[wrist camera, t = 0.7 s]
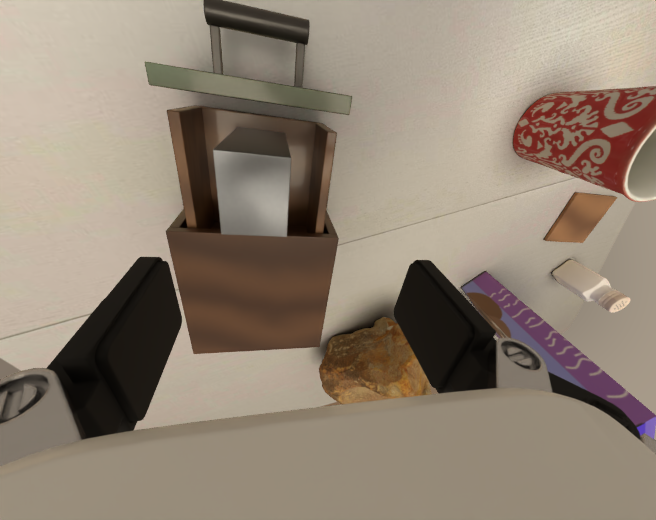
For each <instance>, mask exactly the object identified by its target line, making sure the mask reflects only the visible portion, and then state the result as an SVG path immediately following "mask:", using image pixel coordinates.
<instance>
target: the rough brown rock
mask: <svg viewBox="0 0 656 520" xmlns="http://www.w3.org/2000/svg"><path fill="white" fill-rule="evenodd" d="M319 373H320V378H321V381H322V387H323V389H324V390H325V392H326V393H327V394H328V395H329V396H330V397H332V398H333V399H334V400H336V401H337V402H339V403H340V404H351V403H360V402H368V401H377V400H386V399H395V398H404V397H413V396H422V395H431V389H430V385H429V380H428V379H427V377H426V375H425V373H424V371H423V369H422V367H421V366H420V364H419V362H418V360H417V358H416V356H415V354H414V353H413V351H412V349H411V347H410V345H409V343H408V341H407V340H406V338H405V336H404V334H403V332H402V330H401V328H400V326H399V325H398V324H396V323H395V322H394V321H393V320H391V319H390V318H386V317H383V318H381V319H378V320H377V321H375V324H374V327H372V328H364V329H361V330H358V331H355V332H354V333H352V334H345V335H338V336H334V337H332V339H331V340H330V341H329V343H328V346H327V350H326V354H325V356H324V359H323V361H322V364H321V365H320V368H319Z"/></svg>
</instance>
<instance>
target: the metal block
mask: <svg viewBox="0 0 656 520" xmlns="http://www.w3.org/2000/svg"><path fill="white" fill-rule="evenodd" d="M213 156H214V167H215V177H216V187H217V197H218V207H219V217H220V227H221V234H224V235H250V236H276V237H287V228H288V210H289V192H290V173H291V155H290V151H289V147H288V143H287V139H286V135H285V133H281V132H273V131H265V130H257V129H249V128H242V127H237V128H236V129H235V130H234V131H233V132H232V133H230V134H229V135H228V136H227V137H226V138H225V139H224V140H223V141H222V142H221V143H220V144H219V145H218V146H216V147H215V148H214V149H213Z"/></svg>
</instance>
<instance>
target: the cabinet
mask: <svg viewBox="0 0 656 520" xmlns="http://www.w3.org/2000/svg"><path fill="white" fill-rule="evenodd" d="M166 235H167V239H168V243H169V248H170V252H171V257H172V261H173V265H174V270H175V274H176V279H177V283H178V287H179V292H180V296H181V300H182V305H183V309H184V314H185V318H186V322H187V327H188V331H189V336H190V340H191V344H192V349H193V353H194V354H201V353H219V352H237V351H255V350H273V349H291V348H308V347H319V346H320V340H321V335H322V329H323V323H324V318H325V312H326V306H327V301H328V295H329V289H330V284H331V278H332V273H333V267H334V261H335V256H336V250H337V244H338V239H339V238H338V236H337V234H336V231H335V229H334V227H333V224H332V222H331V220H330V218H329V215H328V213H327V211H326V215H325V222H324V230H323V234H315V233H292V232H287V237H276V236H250V235H224V234H221V229H198V228H187V222H186V216H185V211H184V209H183V210H182V212H181V213H180V214H179V215H178V217H177V218H176V219H175V221H174V222H173V223H172V224H171V226H170V227H169V228H168V229H167V230H166Z"/></svg>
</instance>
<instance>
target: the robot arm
mask: <svg viewBox="0 0 656 520" xmlns="http://www.w3.org/2000/svg"><path fill="white" fill-rule="evenodd" d="M394 317H395V319H396V321H397V323H398V325H399V326H400V328H401V330H402V332H403V334H404V336H405V338H406V340H407V341H408V343H409V345H410V347H411V349H412V351H413V353H414V354H415V356H416V358H417V360H418V362H419V364H420V366H421V367H422V369H423V371H424V373H425V375H426V377H427V379H428V380H429V382H430V384H431V385H432V387H434V388H436V390H437V392H438V393H439V394H431V395H422V396H413V397H404V398H395V399H386V400H377V401H368V402H360V403H351V404H342V405H334V406H325V407H317V408H308V409H300V410H291V411H283V412H274V413H266V414H258V415H250V416H242V417H233V418H225V419H217V420H209V421H200V422H192V423H185V424H178V425H171V426H163V427H156V428H149V429H142V430H134V428H135V425H136V423H137V421H141V420H142V419H143V418H144V417H145V415H146V412H147V410H148V407H149V405H150V402H151V400H152V397H153V395H154V392H155V390H156V387H157V385H158V382H159V380H160V377H161V375H162V372H163V370H164V367H165V365H166V362H167V360H168V357H169V355H170V352H171V350H172V347H173V345H174V342H175V340H176V337H177V335H178V332H179V330H180V327H181V324H182V316H181V312H180V308H179V304H178V300H177V296H176V292H175V288H174V284H173V280H172V276H171V272H170V268H169V265H168V263H167V262H166V261H163V260H162V259H161V258H160V257H140V258H138V259H137V261H136V262H135V263H134V264H133V266H132V267H131V268H130V269H129V270H128V272H127V273H126V274H125V275H124V277H123V278H122V279H121V280H120V281H119V283H118V284H117V285H116V286H115V287H114V289H113V290H112V291H111V292H110V294H109V295H108V296H107V297H106V298H105V299H104V300H103V301H102V302H101V303H100V304H99V306H98V307H97V308H96V309H95V310H94V312H93V313H92V314H91V315H90V316H89V318H88V319H87V320H86V321H85V322H84V324H83V325H82V326H81V327H80V329H79V330H78V331H77V332H76V333H75V335H74V336H73V337H72V338H71V339H70V341H69V342H68V343H67V344H66V345H65V347H64V348H63V349H62V350H61V351H60V353H59V354H58V355H57V356H56V357H55V359H54V360H53V361H52V362H51V364H50V365H49V366H48V367H47V368H33V369H28V370H23V371H20V372H17V373H14V374H11V375H9V376H6V377H4V378H2V379H0V520H656V440H654V439H653V438H651V437H650V436H648V435H647V434H645V433H644V434H642V435H640V433H639V431H638V429H637V427H636V426H635V424H634V423H633V422H632V421H631V420H630V418H629V417H628V416H627V415H626V414H625V413H624V412H623V411H622V410H621V409H620V408H619V407H617V406H616V405H614V404H613V403H611V402H609V401H607V400H605V399H603V398H602V397H599V396H597V395H595V394H593V393H591V392H589V391H587V390H585V389H583V388H581V387H579V386H577V385H575V384H573V383H571V382H569V381H567V380H565V379H563V378H561V377H559V376H556V375H554V374H552V373H550V372H548V370H547V366H546V363H545V361H544V359H543V358H542V357H541V356H540V354H539V353H537V352H536V351H535V350H534V349H533V348H531V347H530V346H529V345H527V344H525V343H523V342H521V341H519V340H517V339H514V338H509V337H502V338H499V339H498V340H497V341H496V340H495V339H494V338H493V336H494V335H495V333H496V331H495V329H494V328H493V327H492V326H491V325H490V324H489V323H488V322H487V321H486V320H485V319H484V318H483V317H482V316H481V314H480V313H479V312H478V311H477V310H476V309H475V308H474V307H473V306H472V305H471V304H470V303H469V302H468V301H467V299H466V298H465V297H464V296H463V295H462V294H461V293H460V292H459V291H458V290H457V289H456V288H455V287H454V286H453V284H452V283H451V282H450V281H449V280H448V279H447V278H446V277H445V276H444V275H443V274H442V273H441V272H440V271H439V269H438V268H437V267H436V266H435V265H434V264H433V263H432V262H431V261H429V260H416V261H414V263H412V264H411V265H410V266H409V269H408V272H407V275H406V277H405V280H404V283H403V286H402V289H401V291H400V294H399V297H398V300H397V303H396V305H395V308H394ZM133 430H134V431H133Z"/></svg>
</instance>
